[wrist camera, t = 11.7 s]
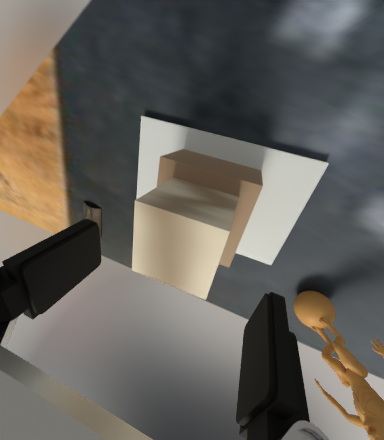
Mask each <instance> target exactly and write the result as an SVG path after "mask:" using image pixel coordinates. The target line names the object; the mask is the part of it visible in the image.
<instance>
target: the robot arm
mask: <svg viewBox="0 0 384 440" xmlns="http://www.w3.org/2000/svg"><path fill="white" fill-rule="evenodd" d="M100 263H101V248H100V230H99V226H98V224H97V222H94V221H92V220H89V219H84V220H82V221H80V222H78V223H76V224H74V225H72V226H70V227H68V228H66V229H64V230H62V231H61V232H59V233H57V234H55V235H53V236H51V237H49V238H47V239H45V240H43V241H41V242H39V243H37V244H35V245H34V246H32V247H30V248H28V249H26V250H24V251H22V252H20V253H18V254H16V255H14V256H12V257H10V258H9V259H6V260H4V261H3V265H4V266H2V267H0V440H152V439H151V438H149V437H148V436H146V435H145V434H143V433H141V432H140V431H138V430H137V429H135V428H133V427H132V426H130V425H129V424H127V423H125V422H124V421H122V420H121V419H119V418H117V417H116V416H114V415H113V414H111V413H109V412H108V411H106V410H105V409H103V408H101V407H100V406H98V405H96V404H95V403H93V402H92V401H90V400H88V399H87V398H85V397H84V396H82V395H80V394H79V393H77V392H76V391H74V390H72V389H71V388H69V387H67V386H66V385H64V384H62V383H61V382H59V381H58V380H56V379H55V378H53V377H51V376H50V375H48V374H46V373H45V372H43V371H42V370H40V369H38V368H37V367H35V366H33V365H32V364H30V363H29V362H27V361H25V360H23V359H22V358H20V357H18V356H17V355H15V354H14V353H12V352H11V351H9V350H7V349H6V346H7V344H8V342H9V339H10V336H11V334H12V331H13V329H14V326H15V324H16V321H17V319H18V316H19V315H21V314H22V313H24V315H26V316H28V317H29V318H31V319H34V318H35V317H37V316H38V315H39V314H43V313H44V312H46V311H47V310H48V309H49V308H50V307H51V306H53V305H54V304H55V303H56V302H57V301H59V300H60V299H61V298H62V297H63V296H64V295H66V293H68V292H69V291H70V290H71V289H73V288H74V287H75V286H76V285H77V284H79V283H80V282H81V281H82V280H83V279H84V278H86V277H87V276H88V275H89V274H90V273H91V272H93V271H94V270H95V269H96V268H97V267H98V266H99V265H100ZM236 421H237V423H238V424H240V435H241V436H243V437H244V438H246V439H247V440H329V439H328V438H327V436H326V435H325V434H324V433H323V432H322V431H321V430H320V429H319V428H318V427H316V426H315V425H314V424H312V423H310V420H309V414H308V408H307V401H306V395H305V389H304V383H303V376H302V370H301V364H300V357H299V351H298V345H297V340H296V336H295V334H294V333H292V332H290V331H289V327H288V319H287V311H286V304H285V298H284V297H283V296H280V295H278V294H275V293H273V292H270V293H269V294H267V293H265V295H264V296H263V298H262V299H261V301H260V303H259V304H258V306H257V308H256V309H255V311H254V313H253V314H252V316H251V318H250V319H249V321H248V323H247V324H246V326H245V330H244V337H243V348H242V359H241V370H240V380H239V391H238V402H237V413H236Z"/></svg>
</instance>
